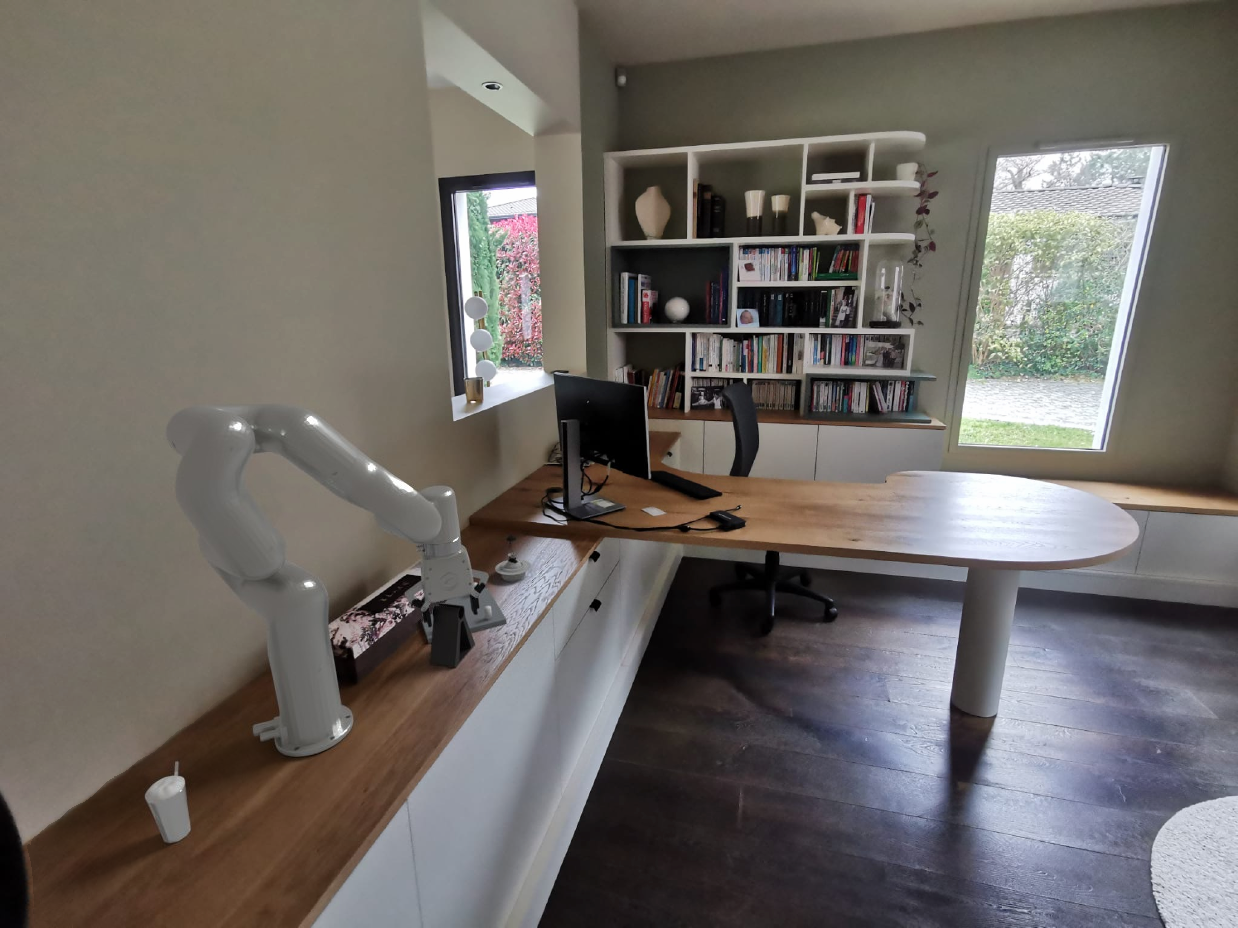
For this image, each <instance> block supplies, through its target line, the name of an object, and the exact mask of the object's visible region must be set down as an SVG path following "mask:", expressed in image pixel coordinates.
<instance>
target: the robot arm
mask: <svg viewBox="0 0 1238 928" xmlns="http://www.w3.org/2000/svg"><path fill="white" fill-rule="evenodd" d="M165 437H166V440H167V442H168V444H169V446H170V448H172V449H173V451H175V452H176V453H177V454H178V455H180V456H181V459H180V461H179V464H178V466H177V470H176V474H175V475H176V477H175V482H174V485H175V486H174V490H175V491H174V492H175V497H176V500H177V503H178V505H179V507H180V510H181V511H182V513H183V514H184V516H185V518H187V520H188V521H189V522H190V524H191V525H192V526H193V528H194V529H195V530H196V531H197V533H198V540H197V543H198V548H199V551H200V553H201V556H202V557H203V558H204V560H205V561H206V562H207V564H209V565H210V567H211V569H213V570H214V571H215V573H217V575H218V576H219V577H220V578H221V580H222V581H223V582H224V583H225V584H226V585H227V586H228V587H229V589H230V590H231V591H232V592H233V594H235V595H236V597H238V599H239V600H240V601H241V602H242V603H244V604H245V605H246V606H247V607H248V608H250V609H251V610H253V611H254V612H256V614H258V616H260V617H262V619H264V621H265V624H266V628H267V629H266V630H267V638H266V650H267V657H268V661H269V662H268V663H269V667H270V670H271V675H272V680H273V685H274V689H275V694H276V695H275V696H276V699H277V700H276V701H277V704H278V709H279V716H274V717H273V719H271V720H268V721H264V722H260V723H256V724H253V725H252V733H253V736H254V737H258V736H259V738H260V742H266V741H269V740H270V739H274V743H275V748H276V750H278V752H279V753H281V754H282V755H284V756H288V757H306V756H311V755H315V754H319V753H321V752H323V751H325V750H329V749H330V748H332V747H334V746H336V745H337V744H338V743H339V742H342V740H343V739H344V738H345V737H346V736H347V735H348V734H349V732H351V730H352V727H353V725H354V715H353V712H352V710H351V709H350V708H349V707H348V706H345V705H344V704H342V700H341V695H340V688H339V681H338V677H337V671H336V664H335V659H334V652H333V647H332V641H331V636H330V627H329V611H330V610H329V608H330V600H329V594H328V591H327V588H326V586H325V584H324V583H323V582H322V580H320V579H319V578H318V577H317V576H316V575H315V574H313V573H311V572H310V571H308V570H307V569H304V568H303V567H301V566H299V565H297V564H295V563H293V562H291V561H289V559H287V558H288V547H287V543H286V540H285V538H284V536H283V535H282V534H281V532H280V531H279V530H278V528H277V527H276V526H275V525H274V524H273V522H271V520H270V519H269V518H268V516H267V515H266V514H265V512H264V511H263V510H262V508H261V507H260V506H259V504H258V503H257V502H256V500H255V498H253V496H252V494H251V492H250V491H249V489H248V487H247V484H246V482H245V476H246V469H247V467H248V464H249V462H250V460H251V459H252V456H253V455H254V454H255V455H256V454H263V453H265V454H266V453H273V454H276V455H279V456H281V457H283V458H284V459H286V460H288V461H289V462H290V463H291V464H292V465H294V466H296V467H297V468H298V469H300V471H303V472H304V473H305V474H306V475H308V476H309V477H311V478H312V479H313V480H314V481H316V482H318V484H320V485H321V486H323V488H325V489H326V490H327V491H329V492H330V493H332V494H333V495H335V496H337V497H339V498H340V499H341V500H343V501H345V502H347V503H350V504H352V505H354V506H356V507H359V508H361V509H362V510H363V509H364V510H365V511H368V512H370V513H372V514H373V517H374V521H375V523H376V525H377V526H378V528H380V530H382V531H384V532H385V533H386V534H387V533H388V534H390V535H392V536H395V537H399V538H401V539H404V540H405V541H408V542H411V543H413V544H416V545H415V550H416V552H421V556H420V557H421V558H420V578H421V580H420V581H418V582H417V583H415V584H414V585H412V587H410V588H409V589H407V590H406V591H405V592H404V597H405V599H407V600H408V601H409V602H410V604H411V605H412V606H413V607H415V608H416V609H417V608H419V609H421V611H422V616H423V621H424V623H426V622H427V624H428V627H431V626H432V622H431V615H430V610H429V605H430V604H431V603H436V602H440V601H444V600H448V599H452V598H456V597H460V596H464V595H467V594H470V603H471V610H472V612H473V614H474V615H478V613H477V609H479V599H478V597H479V596H480V593H481V592H482V591H483V589H484V588H486V584H488V580H489V578H490V576H489V574H488V572H486V571H482V570H477V569H472V565H471V560H470V557H469V554H468V551H467V548H466V547H465V546H464V545H463V544H462V540H461V539H462V537H461V530H460V522H459V516H458V514H459V513H458V505H457V497H456V494H455V491H454V489H453V488H452V487H450V486H447V485H433V486H428V487H425V488H423V489H421V490H420V491H417V490H416V489H414V488H413V487H412V486H410V485H409V484H408V483H407V482H405V481H403V480H402V479H401V478H399V477H398V476H396V475H394V474H392V472H390V471H389V470H387V468H385V467H384V466H382V465H381V464H379V463H377V462H376V461H375V460H373V459H371V458H370V457H369V456H368V455H366V454H365V453H363V452H362V450H360V449H358V447H356V446H355V445H354V444H353V443H352V442H351V441H349V440H348V439H347V438H346V437H345V436H344V435H342V434H341V433H340V432H339V431H337V430H336V429H335V428H334V427H333V426H332V425H330V423H328V422H327V421H326V420H324V418H322V417H321V416H319V415H318V414H317V413H316V412H314V411H312V410H310V409H307V408H304V407H300V406H295V405H290V404H285V403H255V404H254V403H250V404H249V403H248V404H245V403H244V404H199V405H198V404H197V405H192V406H187V407H184V408H182V409H180V410H178V411H177V412H176V413H174V414H173V415H172V416H171V418H169V421H168V422H167V424H166V428H165ZM474 578H476V579H479V581H478V582H477V585H476V586H475V587H474V583H475V582H474ZM421 591H422V592H423V596H422V597H421V599H419V598H418V597H416V596H415V595H416V594H417V593H419V592H421Z"/></svg>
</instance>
